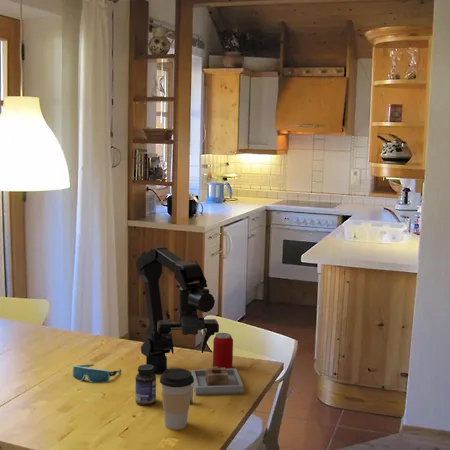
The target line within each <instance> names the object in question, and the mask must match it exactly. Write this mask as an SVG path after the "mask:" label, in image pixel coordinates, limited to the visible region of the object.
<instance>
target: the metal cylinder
mask: <svg viewBox="0 0 450 450" xmlns="http://www.w3.org/2000/svg"><path fill="white" fill-rule="evenodd" d="M193 401H194V386H193V385H191V396H190V404H189V406H191V405H193V404H194V402H193Z"/></svg>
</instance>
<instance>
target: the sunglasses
mask: <svg viewBox="0 0 450 450" xmlns="http://www.w3.org/2000/svg"><path fill="white" fill-rule="evenodd" d="M92 366H95V364H80V365H73V366H72V376H73V378H75V379H76V380H78V381H80V382H83V381H85V380H86V378H87V380H88V382H90V383H92V384H94V383H95V384H96V383H97V384H98V383H104V382H109V381H110V379H111V377H114V376H116V375H117V374H118V373H120V372H121V368H118V369H117V370H114V371H111V370H108V369H102V368H100V369H98V368H92Z"/></svg>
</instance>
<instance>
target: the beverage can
mask: <svg viewBox="0 0 450 450" xmlns="http://www.w3.org/2000/svg"><path fill="white" fill-rule="evenodd" d="M233 356H234V339H233V337H232V335H231V334H230V333H228V332H218V333H215V336H214V338H213V346H212V368H213V367H216V366H217V367H218V368H226V369H233V361H234V360H233Z"/></svg>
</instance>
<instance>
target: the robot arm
mask: <svg viewBox="0 0 450 450" xmlns="http://www.w3.org/2000/svg"><path fill="white" fill-rule="evenodd" d="M135 267H136V269H137V274H138V276H139V278H140V279H141V280H142V281H143V284H144V290H145V291H144V293H145V298H146V299H145V300H146V309H147V317H148V327H147V330H146V332H145V340H144V341H143V343H142V344H141V346H140V351H141V354H142V355H143V356H145V357H146V358H145V364H149V365H152V366H154V371H153V373H154V374H155V375H156V374H157V375H159V374H162V375H163V372H164V371H166V370H168V367H167V366H168V365H167V363H168V357H167V355H166V354H172V355H173V354H174V341H173V333H172V330H176V331H177V330H181V334H182V335H183V336H187V335H193V336H195V335H196V336H197V335H198V334H199V331H202V335H201V337H202V338H201V346H200V347H201V353H202V354H203V353H204V352H205V348H206V346H207V343H208V341H209V339H210V338H211V336H214V335H216V334H218V333H220V326H219V325H220V324H219V322H218V320H217V319H216V318H207V319H206V318H205V317H199V315H198V311H200V312H201V313H209V312H210V311H212V309H214V306H215V302H216V300H215V297H214V296H213V294H211V293H210V289H209V288H208V284H207V279H206V277H205V275H204V272H203V269H202V268H201V266H200V264H198V263H197V262H193V261H187V260H184V259H182V258H181V257H179V256H178V255H176V254H175V253H173V252H172V251H170V250H169V249H168V247H165V246H158V247H157V246H156V247H153V248H151V249H150V250H149V251H147V252H146V253H144V254H142V255H141V256H139V257H138V259H137V260H136V262H135ZM163 267H165V268H166V269H168V270H170V271H171V272H172V273H173V275H174V276H173V278H174V279H175V280H176V281H177V282H178V283H177V284H176V285H175V286H176V288H177V289H178V291H179V293H178V296H179V297H178V323H177V322H175V323H174V322H173V323H171V320H170V319H164V314H163V313H164V312H163V306H162V304H163V303H162V298H161V289H160V279H161V277H162V274H163Z"/></svg>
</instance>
